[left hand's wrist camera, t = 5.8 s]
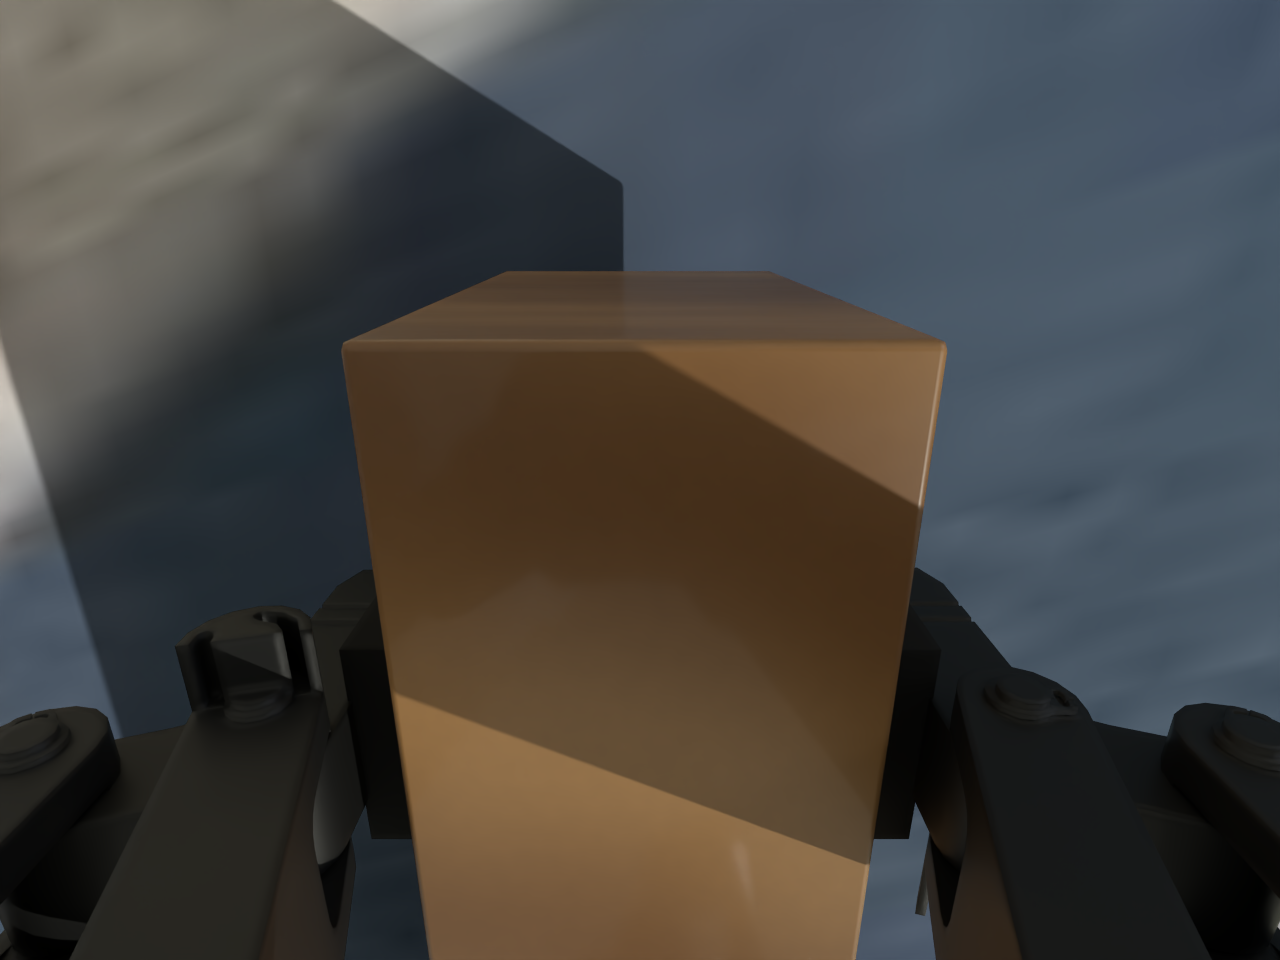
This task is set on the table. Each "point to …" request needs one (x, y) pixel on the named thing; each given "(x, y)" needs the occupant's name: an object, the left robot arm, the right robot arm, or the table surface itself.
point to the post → (643, 604)
